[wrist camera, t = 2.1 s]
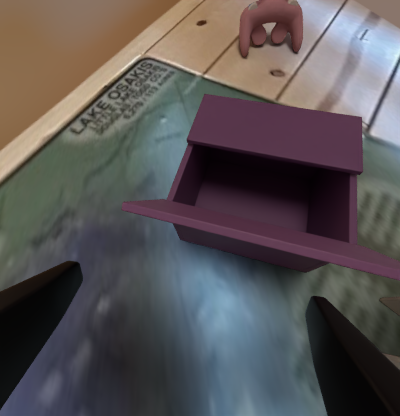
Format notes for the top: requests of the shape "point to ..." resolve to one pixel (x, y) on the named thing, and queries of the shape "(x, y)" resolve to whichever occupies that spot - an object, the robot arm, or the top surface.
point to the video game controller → (266, 13)
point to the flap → (268, 236)
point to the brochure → (396, 305)
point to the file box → (271, 173)
